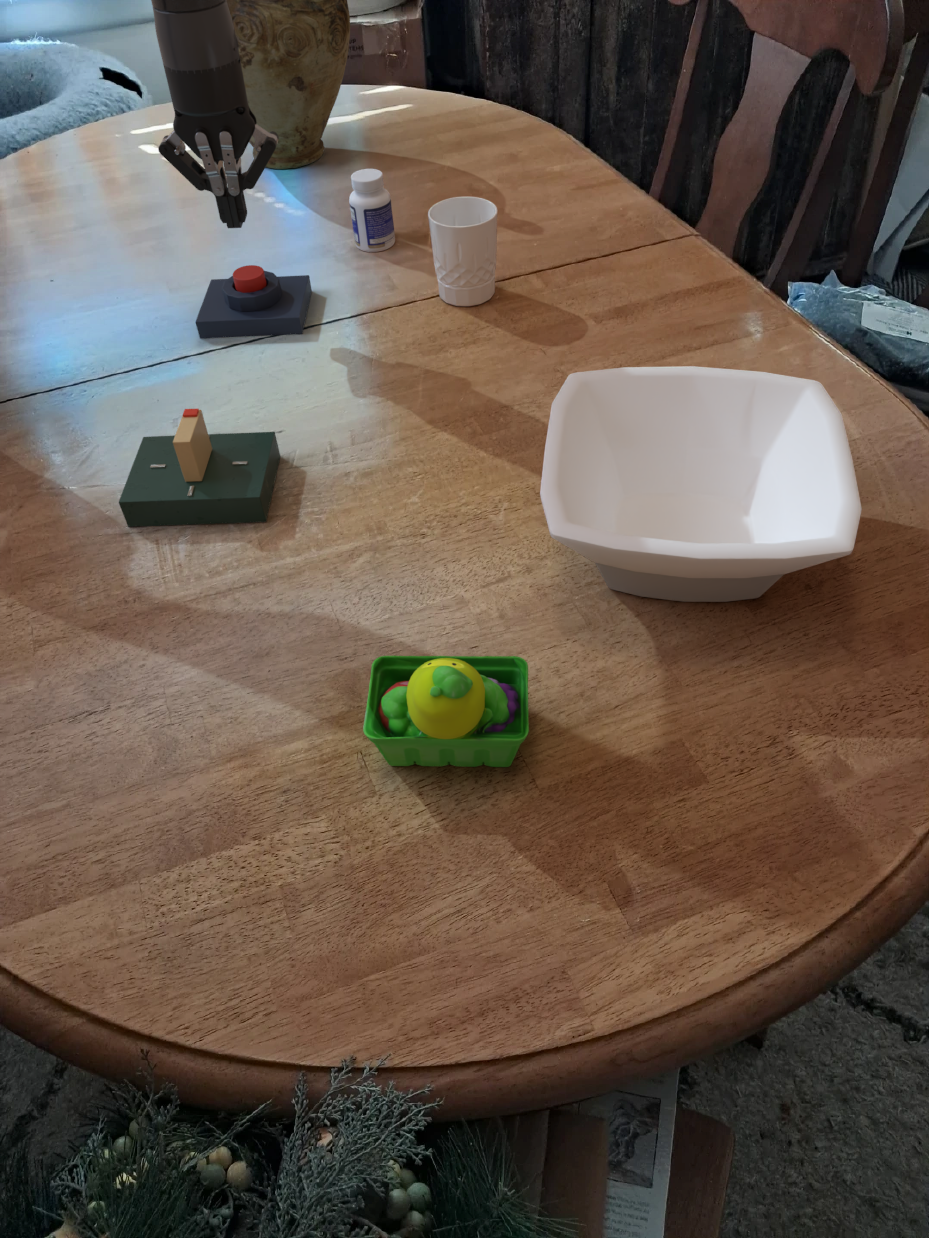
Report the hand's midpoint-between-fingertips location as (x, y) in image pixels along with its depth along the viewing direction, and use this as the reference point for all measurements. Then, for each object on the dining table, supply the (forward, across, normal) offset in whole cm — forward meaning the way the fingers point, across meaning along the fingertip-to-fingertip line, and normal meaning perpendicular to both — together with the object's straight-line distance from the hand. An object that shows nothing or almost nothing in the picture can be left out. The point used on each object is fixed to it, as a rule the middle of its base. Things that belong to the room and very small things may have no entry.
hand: (236, 225), depth 110 cm
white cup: (+11, +25, +3) cm, 28 cm away
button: (+7, 0, 0) cm, 7 cm away
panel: (+11, 0, -33) cm, 35 cm away
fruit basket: (+11, +24, -64) cm, 70 cm away
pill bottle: (+11, +14, +17) cm, 24 cm away
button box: (+11, 0, 0) cm, 11 cm away
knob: (+8, 0, -33) cm, 34 cm away
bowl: (+10, +44, -44) cm, 63 cm away
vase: (+11, -1, +47) cm, 48 cm away
